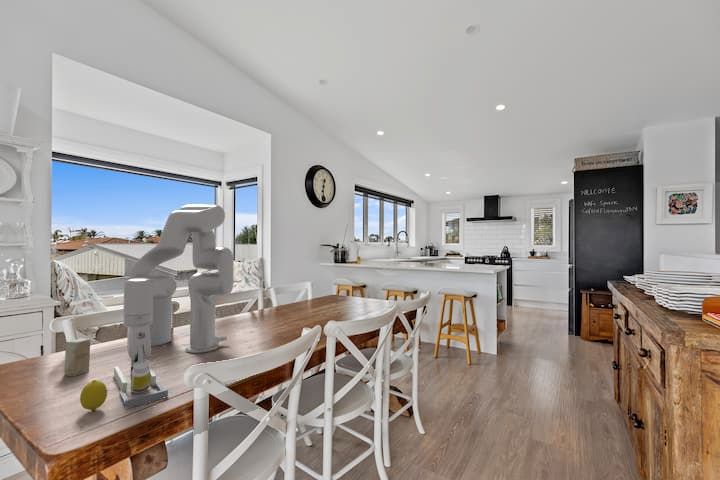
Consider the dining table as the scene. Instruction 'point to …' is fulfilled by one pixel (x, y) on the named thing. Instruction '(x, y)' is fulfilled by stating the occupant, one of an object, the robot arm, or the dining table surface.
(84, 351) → the box
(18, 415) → the dining table surface
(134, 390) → the supplement bottle
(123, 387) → the chute
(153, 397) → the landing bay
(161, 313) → the cylinder vase
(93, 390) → the lemon
